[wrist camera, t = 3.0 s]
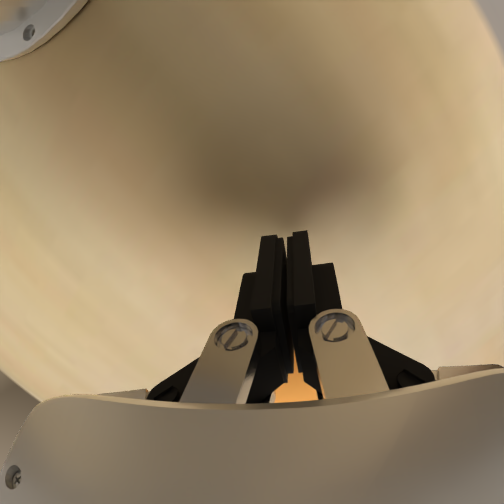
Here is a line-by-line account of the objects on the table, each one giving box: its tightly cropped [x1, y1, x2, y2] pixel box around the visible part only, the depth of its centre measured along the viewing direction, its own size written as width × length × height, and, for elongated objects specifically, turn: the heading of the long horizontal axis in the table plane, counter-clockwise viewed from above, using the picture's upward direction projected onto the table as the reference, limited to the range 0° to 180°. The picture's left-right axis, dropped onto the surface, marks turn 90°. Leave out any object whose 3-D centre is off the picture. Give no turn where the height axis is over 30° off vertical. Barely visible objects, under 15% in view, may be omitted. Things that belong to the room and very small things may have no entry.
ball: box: [274, 351, 317, 403], centre depth 17 cm, size 6×6×6 cm
